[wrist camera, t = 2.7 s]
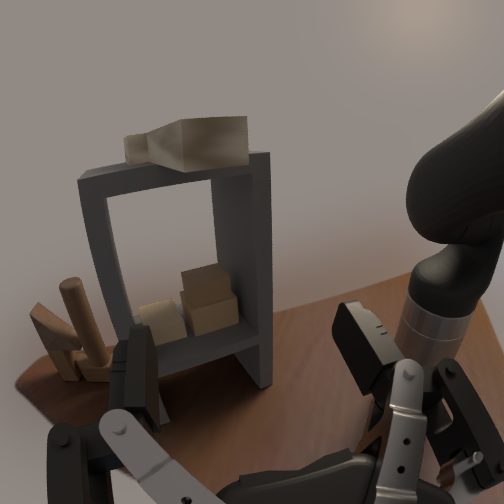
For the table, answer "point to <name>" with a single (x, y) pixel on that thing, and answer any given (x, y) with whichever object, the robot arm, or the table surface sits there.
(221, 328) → the frame
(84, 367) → the wooden block
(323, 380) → the table surface
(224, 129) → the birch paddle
